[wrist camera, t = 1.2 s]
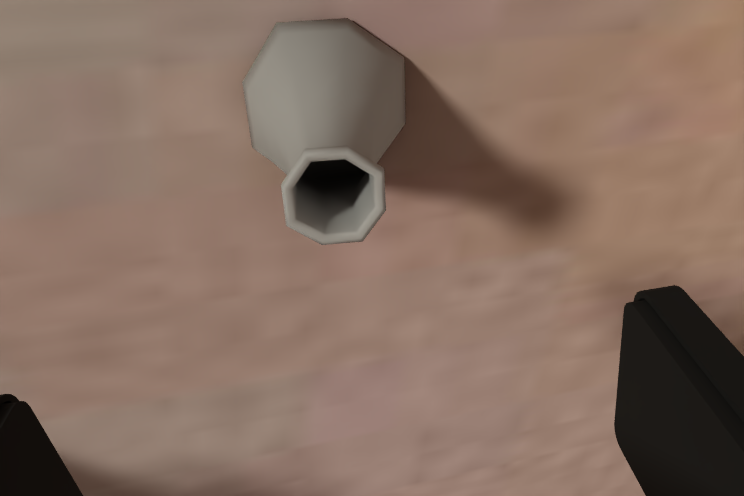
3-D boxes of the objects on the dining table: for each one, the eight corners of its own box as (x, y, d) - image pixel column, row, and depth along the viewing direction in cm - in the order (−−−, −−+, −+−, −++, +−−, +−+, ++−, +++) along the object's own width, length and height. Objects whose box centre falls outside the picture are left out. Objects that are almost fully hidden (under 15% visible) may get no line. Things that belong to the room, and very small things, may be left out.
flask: (430, 40, 26) (490, 113, 17) (382, 192, 29) (412, 317, 21) (259, -9, 25) (232, 45, 16) (228, 158, 28) (193, 277, 19)
